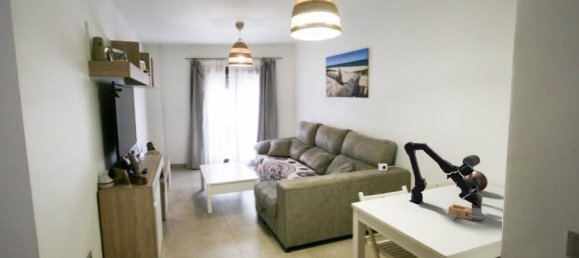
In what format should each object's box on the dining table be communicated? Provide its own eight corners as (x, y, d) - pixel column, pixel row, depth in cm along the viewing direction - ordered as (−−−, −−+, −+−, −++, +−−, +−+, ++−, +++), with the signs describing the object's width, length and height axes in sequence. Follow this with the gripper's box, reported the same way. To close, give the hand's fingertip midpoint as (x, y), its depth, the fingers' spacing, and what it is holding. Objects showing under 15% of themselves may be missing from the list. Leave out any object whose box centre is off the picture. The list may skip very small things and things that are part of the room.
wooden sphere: (457, 190, 223) (459, 170, 221) (470, 187, 230) (471, 167, 228) (478, 196, 210) (480, 174, 208) (491, 192, 217) (492, 172, 215)
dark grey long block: (471, 213, 179) (472, 193, 177) (472, 212, 181) (474, 191, 180) (479, 216, 176) (481, 195, 174) (481, 214, 178) (483, 193, 177)
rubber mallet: (471, 203, 195) (474, 157, 192) (458, 200, 201) (461, 155, 197) (478, 199, 203) (481, 155, 200) (466, 196, 209) (469, 153, 205)
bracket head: (443, 218, 172) (443, 208, 171) (452, 210, 183) (453, 201, 183) (478, 228, 160) (479, 217, 159) (486, 219, 171) (487, 208, 170)
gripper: (466, 176, 172) (487, 200, 165) (475, 170, 185) (495, 192, 179) (450, 187, 178) (470, 210, 172) (460, 180, 192) (479, 202, 185)
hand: (479, 203), depth 177 cm, fingers open, 9 cm apart
